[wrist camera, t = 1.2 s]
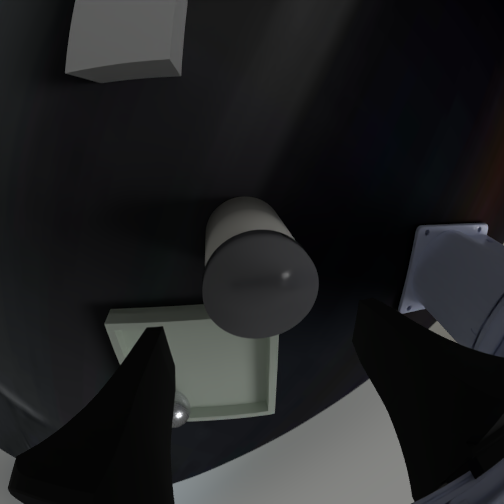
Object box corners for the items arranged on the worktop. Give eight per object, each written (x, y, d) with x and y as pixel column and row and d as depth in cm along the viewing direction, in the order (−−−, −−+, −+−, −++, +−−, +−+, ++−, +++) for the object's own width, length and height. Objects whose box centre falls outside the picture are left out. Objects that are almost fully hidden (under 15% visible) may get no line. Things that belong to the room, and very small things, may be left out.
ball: (187, 379, 23) (186, 412, 20) (193, 403, 24) (194, 434, 21) (147, 380, 23) (142, 413, 19) (156, 404, 24) (154, 434, 21)
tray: (274, 297, 21) (279, 312, 20) (271, 399, 26) (274, 413, 25) (110, 308, 20) (104, 323, 18) (148, 407, 25) (146, 421, 23)
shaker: (283, 193, 18) (323, 234, 12) (282, 265, 20) (313, 331, 14) (200, 197, 18) (196, 243, 11) (207, 271, 20) (208, 343, 13)
